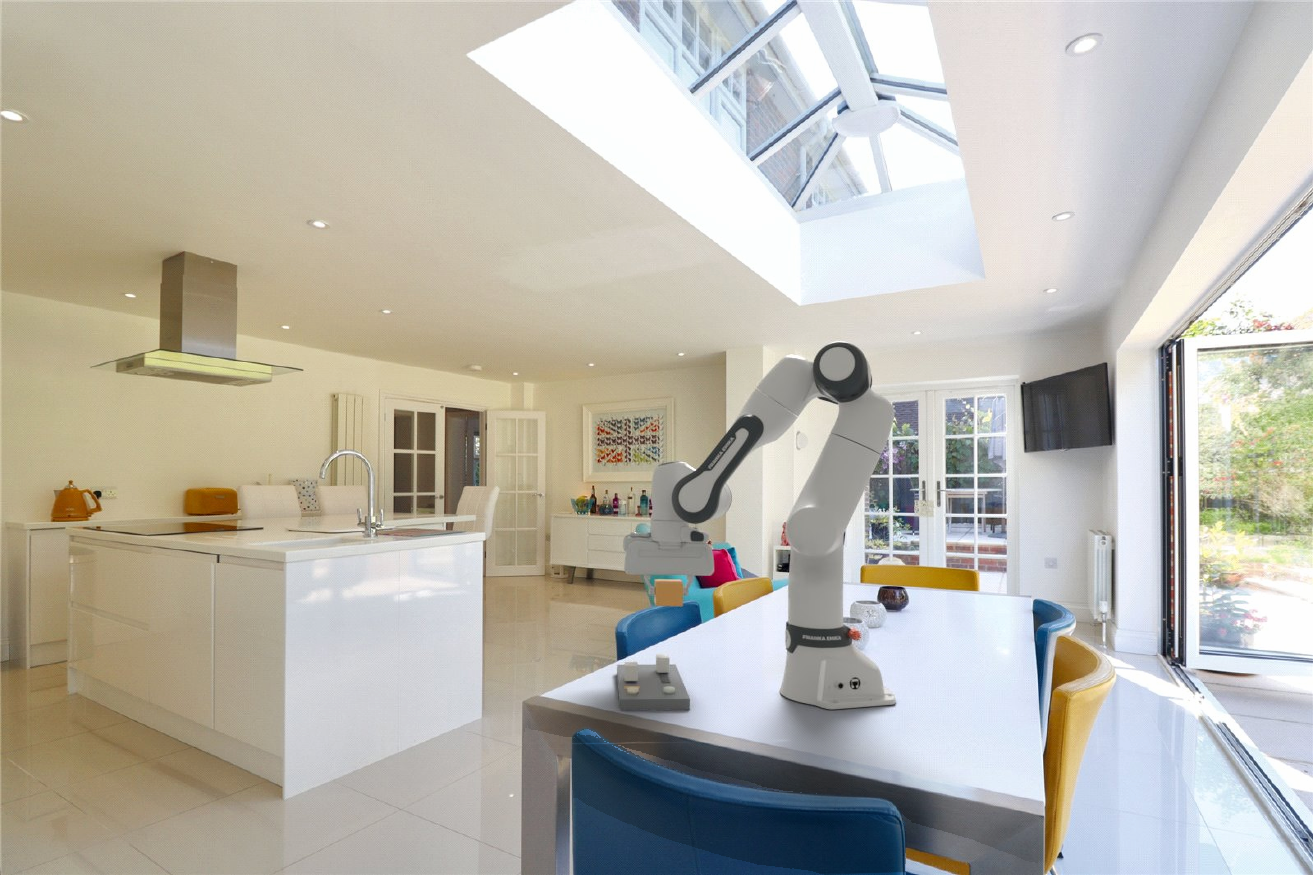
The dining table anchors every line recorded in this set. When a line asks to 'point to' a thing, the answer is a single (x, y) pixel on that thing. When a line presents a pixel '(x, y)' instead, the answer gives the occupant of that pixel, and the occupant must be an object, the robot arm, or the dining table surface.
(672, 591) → the cap
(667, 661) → the block
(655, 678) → the breaker panel
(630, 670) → the block
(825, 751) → the dining table surface
